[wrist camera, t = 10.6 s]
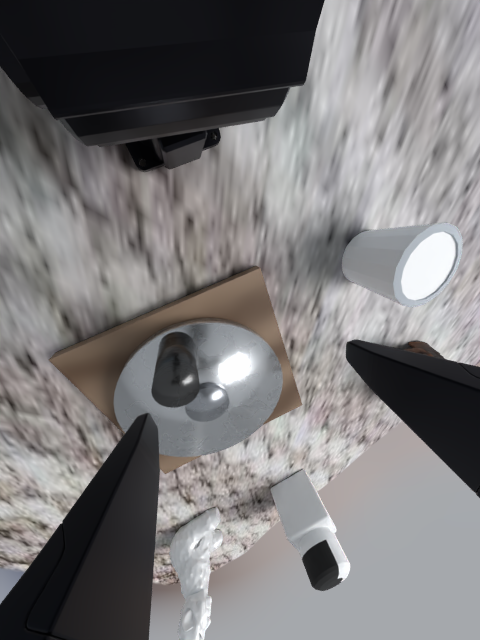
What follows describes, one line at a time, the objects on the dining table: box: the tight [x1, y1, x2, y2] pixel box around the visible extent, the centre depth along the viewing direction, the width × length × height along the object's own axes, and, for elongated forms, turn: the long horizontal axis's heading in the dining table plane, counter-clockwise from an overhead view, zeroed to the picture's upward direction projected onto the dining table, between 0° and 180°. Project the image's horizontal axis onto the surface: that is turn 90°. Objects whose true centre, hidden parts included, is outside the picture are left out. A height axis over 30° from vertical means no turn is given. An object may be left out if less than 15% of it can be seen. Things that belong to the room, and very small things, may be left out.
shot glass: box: [342, 222, 462, 307], centre depth 20 cm, size 7×7×7 cm
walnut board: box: [49, 266, 302, 474], centre depth 24 cm, size 20×20×1 cm
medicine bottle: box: [270, 469, 350, 591], centre depth 34 cm, size 7×7×12 cm
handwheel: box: [114, 318, 283, 457], centre depth 20 cm, size 17×17×7 cm
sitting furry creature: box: [169, 507, 223, 640], centre depth 31 cm, size 10×9×12 cm
